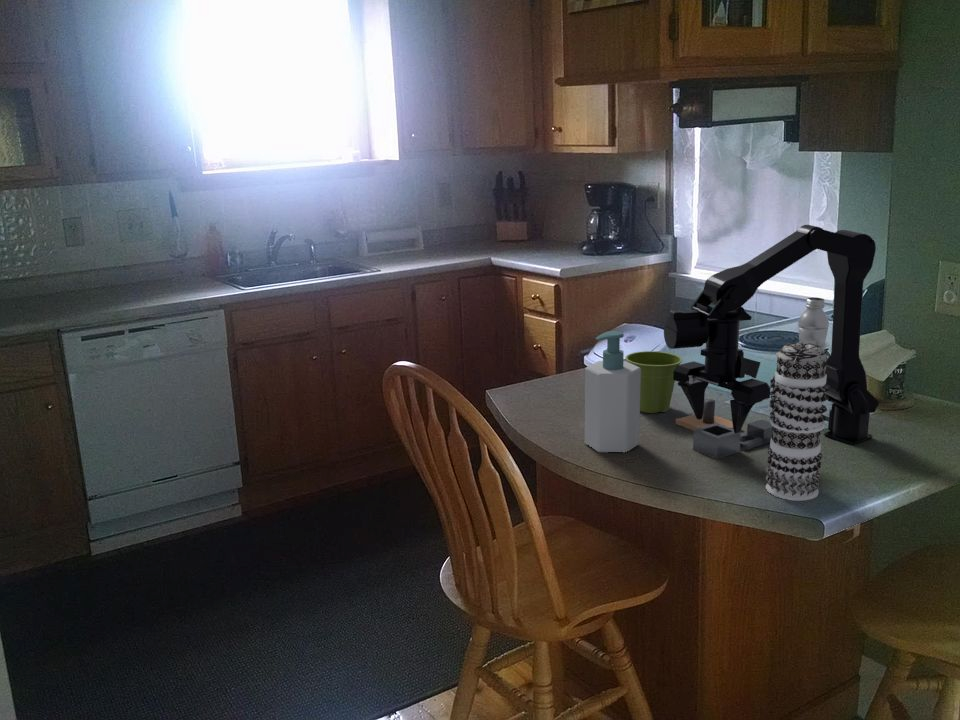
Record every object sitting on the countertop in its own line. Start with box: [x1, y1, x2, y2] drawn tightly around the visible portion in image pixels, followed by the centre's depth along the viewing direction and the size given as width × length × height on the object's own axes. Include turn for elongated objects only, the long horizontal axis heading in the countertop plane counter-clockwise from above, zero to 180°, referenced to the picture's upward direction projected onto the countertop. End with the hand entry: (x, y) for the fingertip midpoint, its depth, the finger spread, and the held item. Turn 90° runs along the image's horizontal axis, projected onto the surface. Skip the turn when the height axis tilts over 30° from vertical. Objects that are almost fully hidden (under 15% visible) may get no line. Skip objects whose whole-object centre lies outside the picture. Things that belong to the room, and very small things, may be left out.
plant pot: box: [624, 350, 683, 414], centre depth 194 cm, size 12×12×11 cm
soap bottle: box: [584, 330, 641, 454], centre depth 172 cm, size 10×9×22 cm
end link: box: [692, 423, 742, 459], centre depth 171 cm, size 6×6×4 cm
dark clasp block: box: [740, 419, 773, 452], centre depth 174 cm, size 4×10×3 cm, turn 123°
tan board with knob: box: [675, 398, 733, 431], centre depth 183 cm, size 10×8×6 cm
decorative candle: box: [765, 341, 830, 502], centre depth 150 cm, size 9×9×25 cm
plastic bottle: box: [797, 296, 830, 353], centre depth 206 cm, size 6×7×20 cm
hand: (717, 425), depth 170 cm, fingers open, 9 cm apart
